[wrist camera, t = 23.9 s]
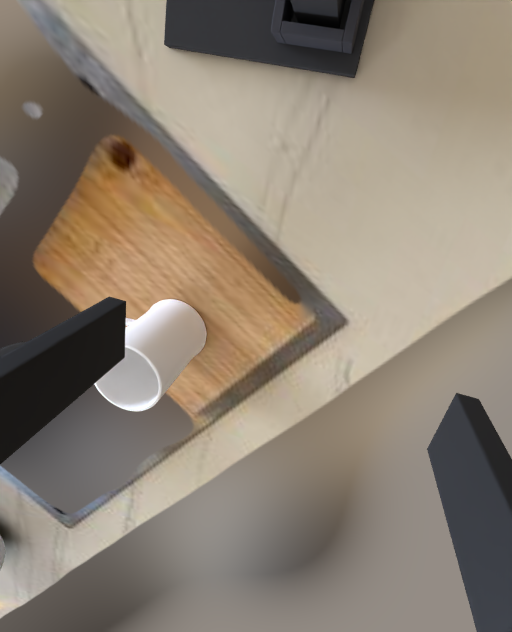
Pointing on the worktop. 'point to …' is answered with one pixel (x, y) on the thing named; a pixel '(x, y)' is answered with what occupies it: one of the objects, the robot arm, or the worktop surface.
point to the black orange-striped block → (319, 12)
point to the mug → (154, 355)
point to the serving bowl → (2, 552)
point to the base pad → (268, 33)
